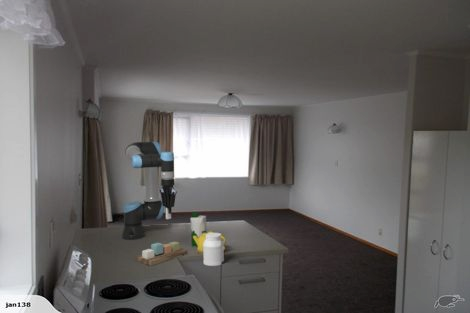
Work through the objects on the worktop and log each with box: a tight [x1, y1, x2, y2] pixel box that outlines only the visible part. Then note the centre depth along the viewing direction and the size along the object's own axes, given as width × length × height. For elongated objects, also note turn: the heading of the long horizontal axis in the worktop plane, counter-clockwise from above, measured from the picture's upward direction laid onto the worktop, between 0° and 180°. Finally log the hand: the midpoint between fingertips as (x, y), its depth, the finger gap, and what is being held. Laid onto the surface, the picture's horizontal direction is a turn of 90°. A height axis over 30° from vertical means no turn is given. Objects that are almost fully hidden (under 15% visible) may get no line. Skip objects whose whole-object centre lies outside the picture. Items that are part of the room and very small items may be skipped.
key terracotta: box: [163, 243, 172, 254], centre depth 210 cm, size 5×5×5 cm
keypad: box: [135, 247, 188, 267], centre depth 207 cm, size 14×25×2 cm, turn 139°
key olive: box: [167, 241, 181, 251], centre depth 214 cm, size 5×5×5 cm
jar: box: [202, 232, 225, 267], centre depth 197 cm, size 12×10×15 cm
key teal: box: [150, 242, 164, 255], centre depth 205 cm, size 5×5×5 cm
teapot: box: [193, 231, 227, 254], centre depth 216 cm, size 20×12×12 cm, turn 73°
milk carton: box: [190, 212, 207, 247], centre depth 229 cm, size 9×9×20 cm
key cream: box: [141, 248, 154, 259], centre depth 200 cm, size 5×5×5 cm
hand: (168, 218), depth 216 cm, fingers closed
